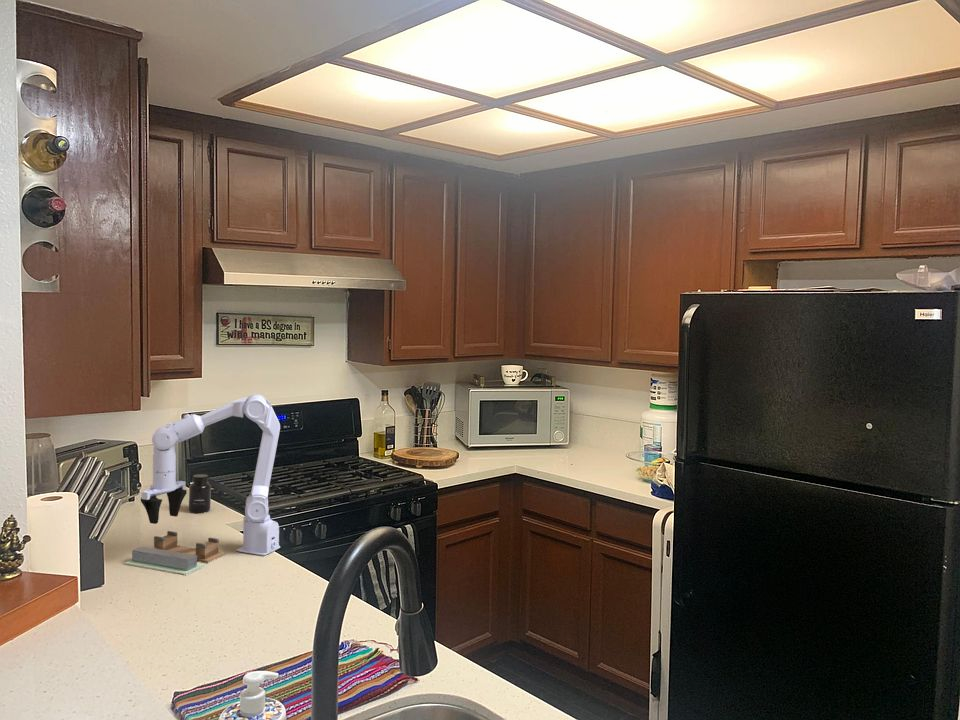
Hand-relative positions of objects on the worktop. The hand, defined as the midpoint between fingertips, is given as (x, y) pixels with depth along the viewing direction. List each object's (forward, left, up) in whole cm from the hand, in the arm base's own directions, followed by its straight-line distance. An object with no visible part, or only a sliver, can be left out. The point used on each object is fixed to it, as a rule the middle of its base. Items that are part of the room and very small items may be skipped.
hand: (164, 519), depth 200 cm
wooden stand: (-5, -3, -10) cm, 11 cm away
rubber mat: (-6, +7, -10) cm, 13 cm away
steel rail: (-6, +7, -10) cm, 13 cm away
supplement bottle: (+20, -39, -10) cm, 45 cm away
